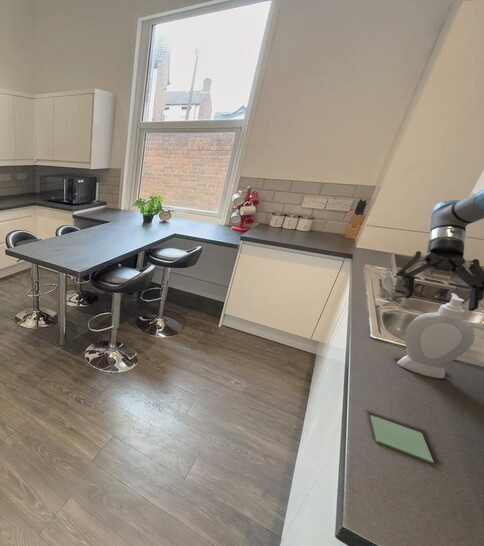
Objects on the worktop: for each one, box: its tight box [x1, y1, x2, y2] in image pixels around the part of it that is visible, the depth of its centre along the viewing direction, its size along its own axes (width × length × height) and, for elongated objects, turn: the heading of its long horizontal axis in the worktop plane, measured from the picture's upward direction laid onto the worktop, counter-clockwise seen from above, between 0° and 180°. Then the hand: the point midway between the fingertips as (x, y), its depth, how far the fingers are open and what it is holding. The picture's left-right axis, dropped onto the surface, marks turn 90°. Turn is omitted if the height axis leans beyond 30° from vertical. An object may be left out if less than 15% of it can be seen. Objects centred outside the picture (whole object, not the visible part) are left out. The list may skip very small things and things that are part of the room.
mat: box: [369, 415, 435, 465], centre depth 71 cm, size 9×9×1 cm
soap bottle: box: [396, 292, 475, 379], centre depth 90 cm, size 13×8×24 cm, turn 50°
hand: (439, 302), depth 94 cm, fingers open, 13 cm apart
